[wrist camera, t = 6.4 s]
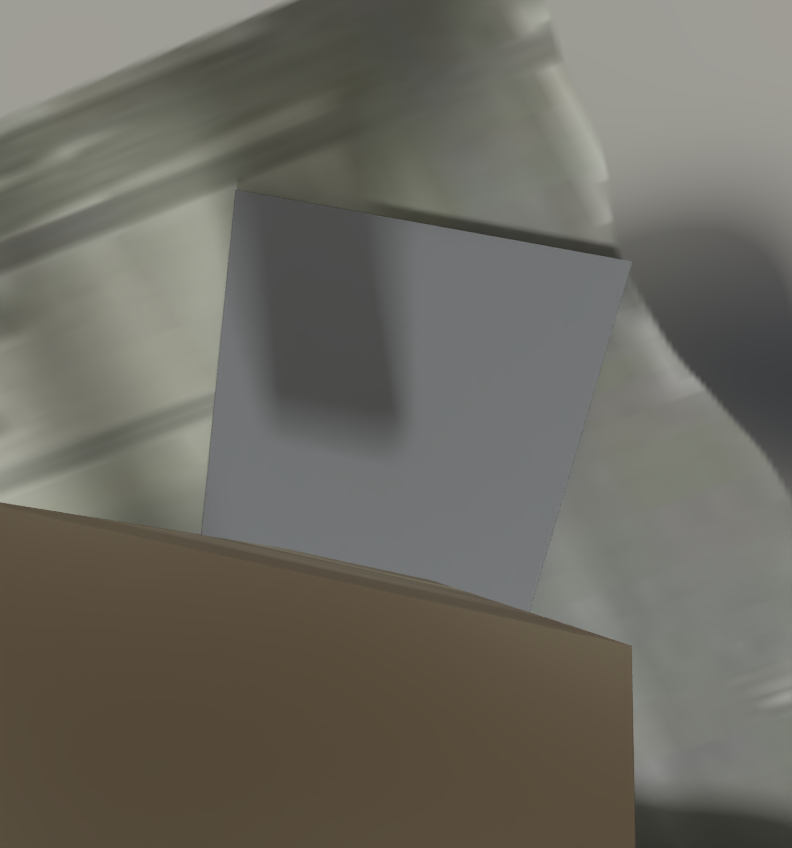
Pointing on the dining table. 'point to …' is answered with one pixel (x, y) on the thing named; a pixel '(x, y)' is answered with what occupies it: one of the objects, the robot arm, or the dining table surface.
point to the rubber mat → (402, 392)
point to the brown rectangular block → (290, 702)
